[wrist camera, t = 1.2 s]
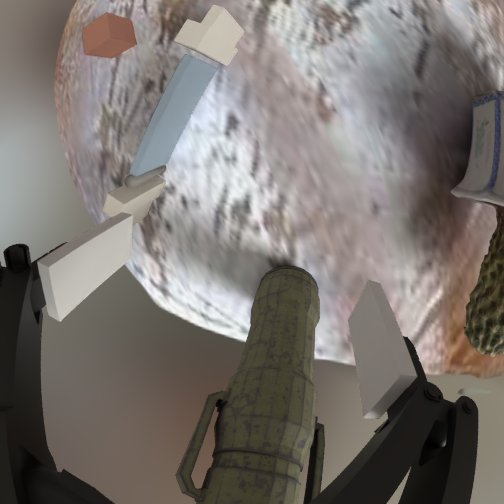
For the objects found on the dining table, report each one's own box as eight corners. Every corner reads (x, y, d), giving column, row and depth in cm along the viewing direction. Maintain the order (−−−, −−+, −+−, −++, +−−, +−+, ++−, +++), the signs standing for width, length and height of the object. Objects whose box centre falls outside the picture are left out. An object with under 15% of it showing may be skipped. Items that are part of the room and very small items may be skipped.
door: (209, 64, 27) (183, 53, 20) (219, 69, 27) (195, 57, 20) (155, 170, 34) (123, 184, 28) (163, 175, 35) (132, 190, 28)
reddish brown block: (108, 35, 26) (81, 30, 21) (132, 21, 25) (106, 12, 20) (112, 58, 28) (85, 54, 23) (136, 44, 27) (110, 37, 21)
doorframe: (231, 26, 24) (202, -3, 16) (249, 33, 25) (225, 4, 16) (137, 209, 38) (96, 237, 30) (150, 218, 39) (110, 248, 30)
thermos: (256, 253, 38) (146, 538, 8) (337, 279, 37) (335, 565, 7) (242, 301, 42) (155, 533, 12) (314, 323, 42) (287, 559, 11)
